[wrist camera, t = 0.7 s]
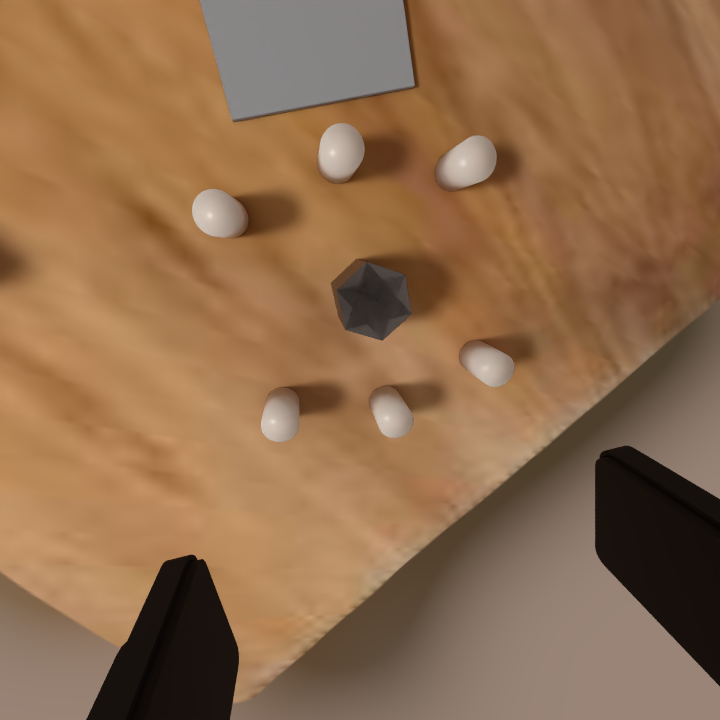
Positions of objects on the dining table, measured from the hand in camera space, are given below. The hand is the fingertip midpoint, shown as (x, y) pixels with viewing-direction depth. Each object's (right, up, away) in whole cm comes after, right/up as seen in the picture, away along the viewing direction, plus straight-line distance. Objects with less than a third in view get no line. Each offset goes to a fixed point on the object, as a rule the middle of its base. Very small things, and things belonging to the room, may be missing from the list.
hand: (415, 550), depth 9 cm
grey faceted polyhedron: (-1, +9, +20) cm, 22 cm away
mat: (-4, +25, +15) cm, 30 cm away
